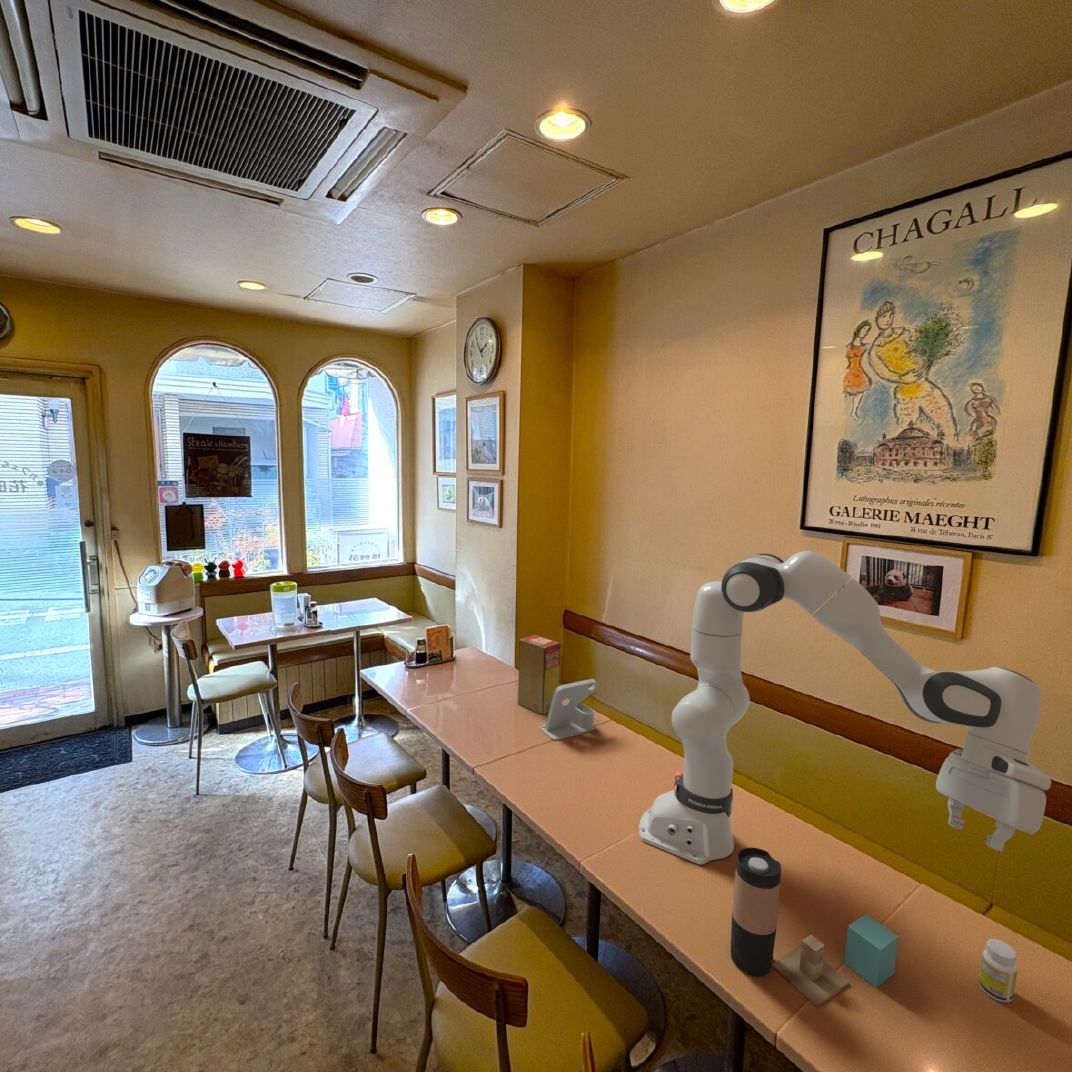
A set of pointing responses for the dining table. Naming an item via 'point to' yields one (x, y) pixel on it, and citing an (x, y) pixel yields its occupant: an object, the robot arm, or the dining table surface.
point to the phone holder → (570, 711)
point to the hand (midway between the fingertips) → (973, 837)
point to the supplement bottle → (998, 971)
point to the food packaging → (538, 672)
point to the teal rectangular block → (871, 950)
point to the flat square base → (811, 972)
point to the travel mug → (755, 911)
